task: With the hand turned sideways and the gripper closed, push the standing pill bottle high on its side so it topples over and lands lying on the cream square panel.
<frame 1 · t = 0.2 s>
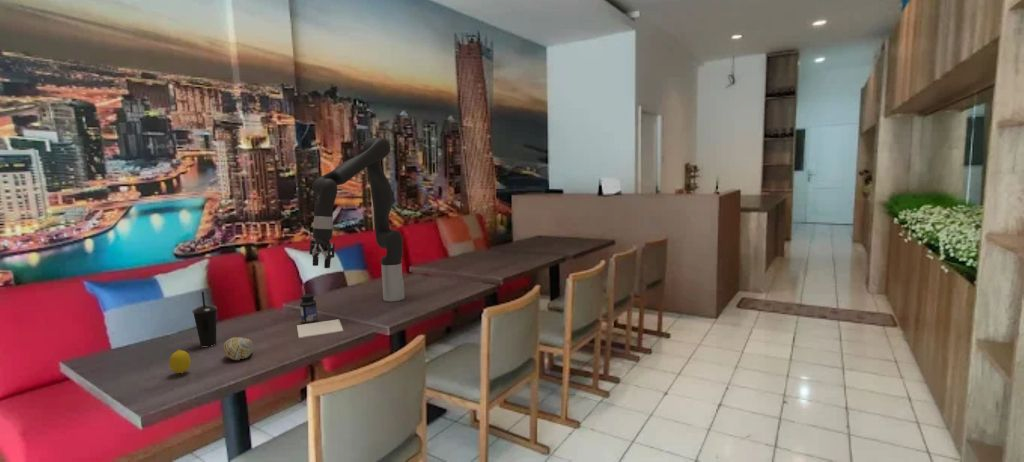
hand: (321, 266, 207), 23 cm above the table, tool pointing down, fingers open, 8 cm apart
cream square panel: (319, 328, 199), on the table
yarn ball: (240, 357, 173), on the table
drinking cup: (208, 345, 184), on the table
pill bottle: (309, 321, 209), on the table
lemon: (181, 374, 160), on the table
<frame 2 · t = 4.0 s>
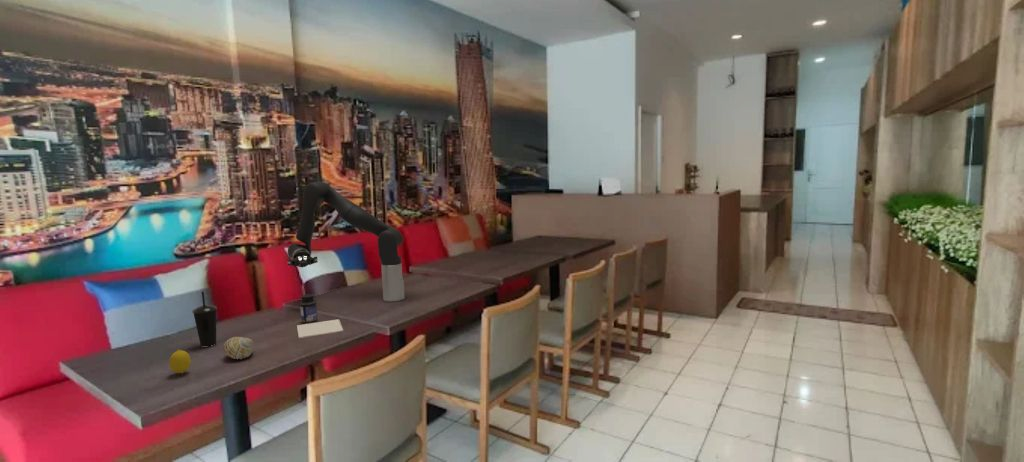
hand: (303, 264, 215), 22 cm above the table, tool horizontal, fingers closed
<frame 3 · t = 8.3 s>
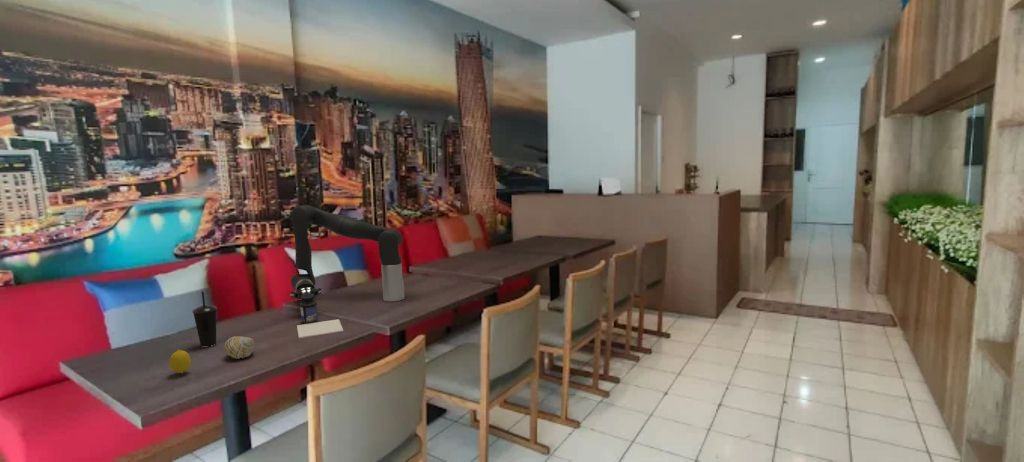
hand: (307, 297, 209), 10 cm above the table, tool horizontal, fingers closed
pill bottle: (309, 320, 209), on the table, touching gripper
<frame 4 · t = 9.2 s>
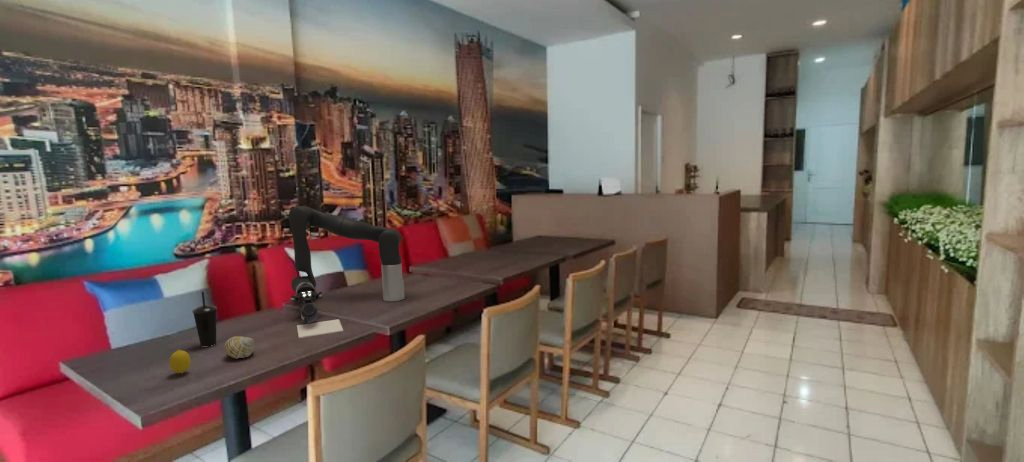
hand: (308, 301, 204), 9 cm above the table, tool horizontal, fingers closed
pill bottle: (309, 316, 207), point 2 cm above the table
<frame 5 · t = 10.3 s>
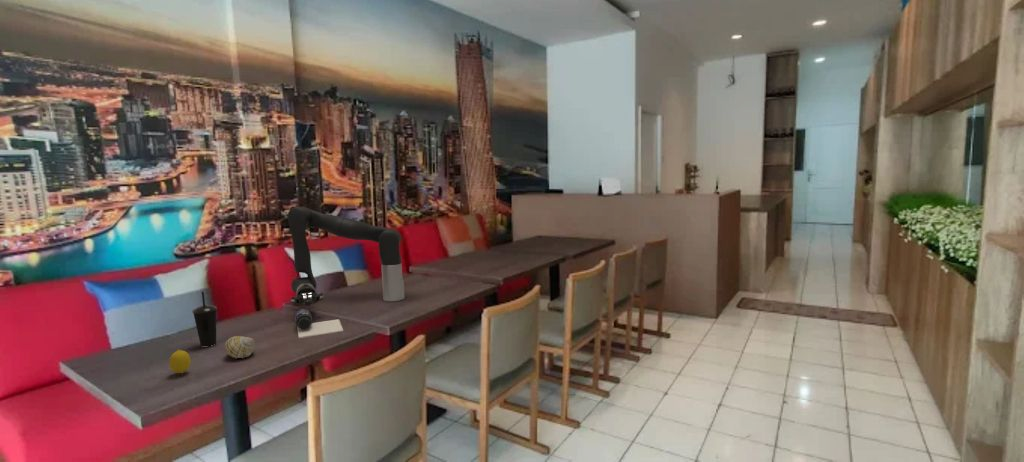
hand: (308, 303, 203), 9 cm above the table, tool horizontal, fingers closed
pill bottle: (302, 315, 205), point 4 cm above the table, touching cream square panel
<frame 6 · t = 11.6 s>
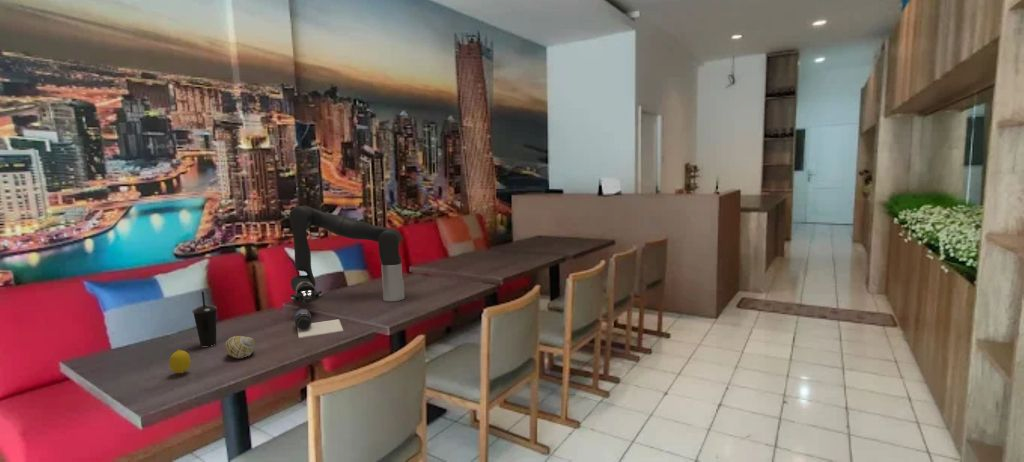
hand: (308, 300, 207), 9 cm above the table, tool horizontal, fingers closed
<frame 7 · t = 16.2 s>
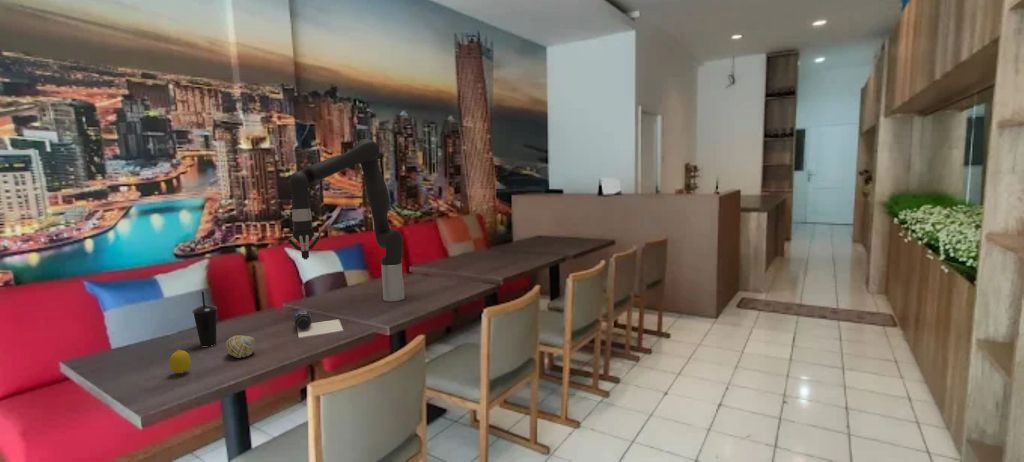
hand: (305, 259, 217), 24 cm above the table, tool pointing down, fingers closed
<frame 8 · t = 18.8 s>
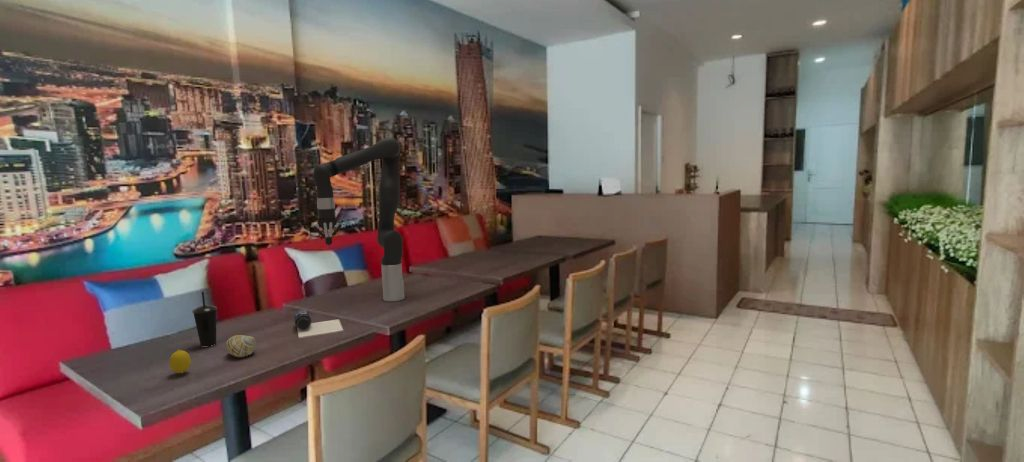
hand: (329, 244, 233), 27 cm above the table, tool pointing down, fingers closed
at the end: pill bottle tilted 90°; pill bottle touching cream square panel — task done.
